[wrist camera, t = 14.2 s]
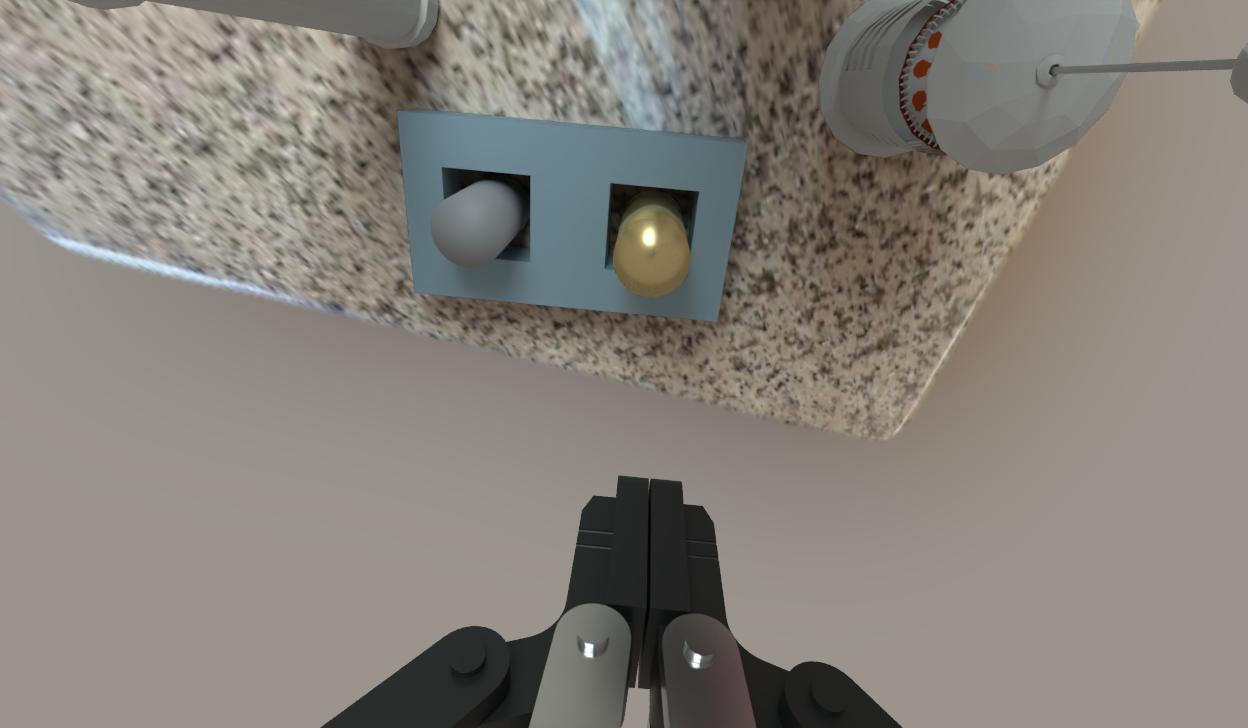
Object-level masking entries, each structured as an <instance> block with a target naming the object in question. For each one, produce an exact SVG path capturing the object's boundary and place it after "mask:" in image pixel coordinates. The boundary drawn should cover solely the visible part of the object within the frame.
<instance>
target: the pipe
mask: <svg viewBox="0 0 1248 728" xmlns="http://www.w3.org/2000/svg"><path fill="white" fill-rule="evenodd" d="M69 1H72V2H75V3H78V4H81V5H84V6H87V7H90V8H97V9H104V10H107V9H115V8H124V7H132V6H139V5H140V4H141V3H143V2H144V1H150V2H156V3H162V4H168V5H174V6H180V7H186V8H192V9H198V10H204V11H210V12H216V13H222V14H228V15H234V16H240V17H246V18H252V19H258V20H264V21H270V22H276V23H282V24H288V25H293V26H299V27H305V28H311V29H317V30H323V31H329V32H335V33H341V34H347V35H353V36H359V37H362V38H363V39H364V40H365V41H367V42H368V43H371V44H374V45H376V46H379V47H382V48H385V49H395V48H407V47H416V46H417V45H419V44H420V43H421V42H423V41H424V40H426V39H427V38H428V37H429V36H430V34H431V32H432V30H433V29H434V27H435V25H436V23H437V15H438V7H439V4H438V0H69Z"/></svg>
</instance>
